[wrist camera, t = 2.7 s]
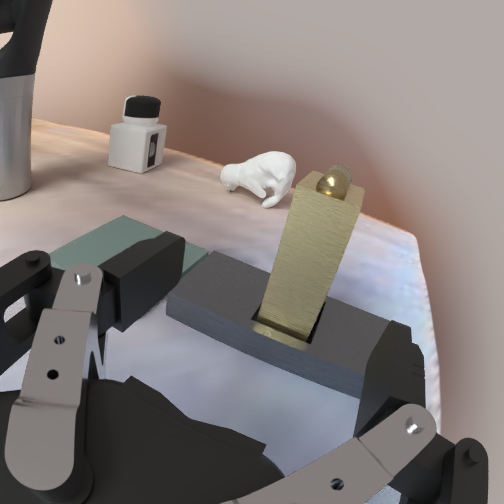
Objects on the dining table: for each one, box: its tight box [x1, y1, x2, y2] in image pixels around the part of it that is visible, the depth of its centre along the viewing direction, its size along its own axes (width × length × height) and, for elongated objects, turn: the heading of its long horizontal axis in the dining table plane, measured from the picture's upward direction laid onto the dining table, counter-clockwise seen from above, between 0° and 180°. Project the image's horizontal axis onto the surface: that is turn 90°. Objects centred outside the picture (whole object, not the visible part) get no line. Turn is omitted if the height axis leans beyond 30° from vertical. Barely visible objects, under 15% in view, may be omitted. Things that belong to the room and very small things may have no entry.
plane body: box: [166, 251, 390, 399], centre depth 26 cm, size 18×8×2 cm, turn 68°
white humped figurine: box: [220, 151, 296, 208], centre depth 50 cm, size 6×8×12 cm
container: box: [108, 96, 167, 174], centre depth 52 cm, size 8×8×13 cm
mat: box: [49, 215, 209, 279], centre depth 30 cm, size 12×12×1 cm
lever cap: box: [256, 164, 365, 342], centre depth 23 cm, size 4×5×14 cm
